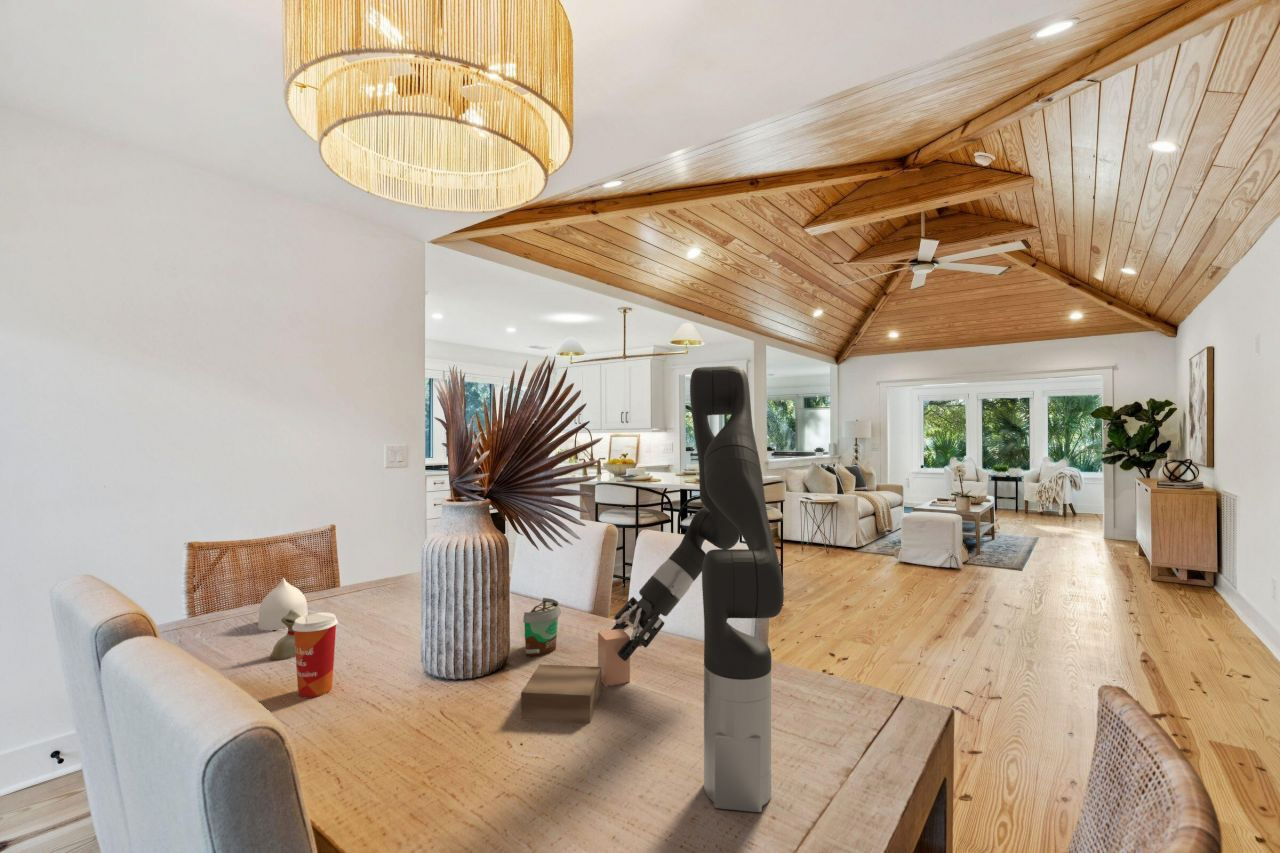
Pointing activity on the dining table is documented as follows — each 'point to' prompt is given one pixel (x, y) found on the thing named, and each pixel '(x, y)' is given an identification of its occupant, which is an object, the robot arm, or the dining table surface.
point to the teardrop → (281, 606)
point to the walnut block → (561, 693)
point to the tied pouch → (286, 639)
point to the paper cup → (315, 653)
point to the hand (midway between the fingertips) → (613, 650)
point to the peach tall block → (613, 657)
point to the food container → (541, 628)
